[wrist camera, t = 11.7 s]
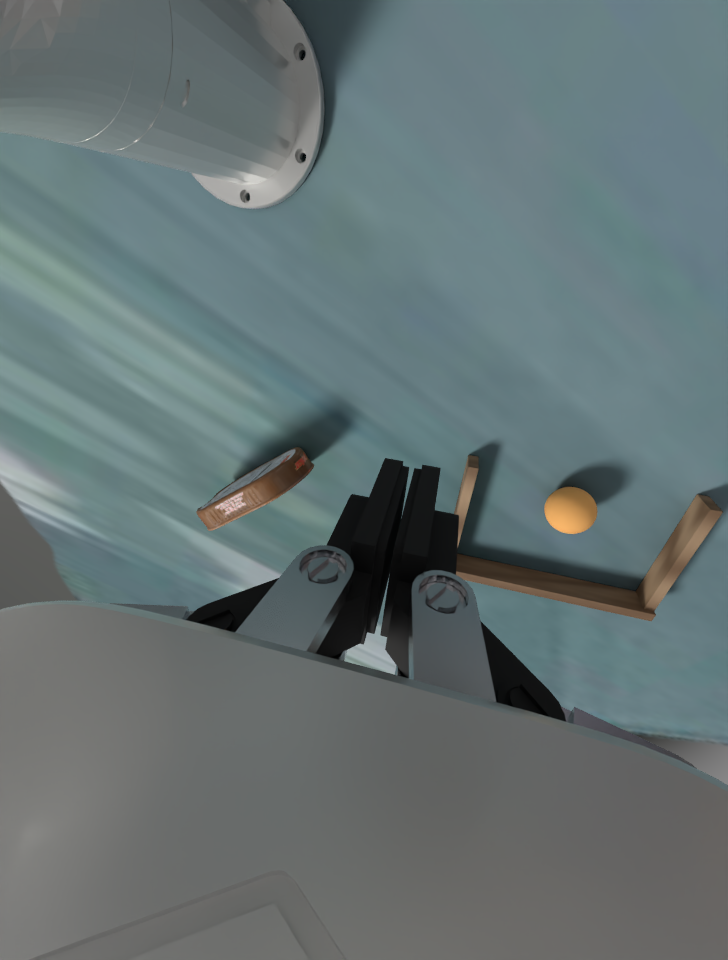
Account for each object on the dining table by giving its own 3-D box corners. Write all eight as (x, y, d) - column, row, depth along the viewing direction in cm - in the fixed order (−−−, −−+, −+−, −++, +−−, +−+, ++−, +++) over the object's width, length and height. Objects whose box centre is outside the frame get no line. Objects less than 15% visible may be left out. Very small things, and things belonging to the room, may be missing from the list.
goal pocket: (468, 454, 40) (468, 469, 38) (709, 496, 37) (726, 515, 34) (443, 557, 48) (441, 574, 45) (641, 599, 44) (651, 621, 42)
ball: (538, 510, 37) (535, 528, 41) (590, 530, 35) (582, 548, 38) (557, 471, 38) (553, 493, 42) (609, 488, 36) (599, 510, 40)
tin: (235, 502, 51) (197, 544, 44) (219, 483, 50) (178, 523, 43) (325, 455, 44) (297, 496, 37) (309, 432, 43) (277, 469, 36)
